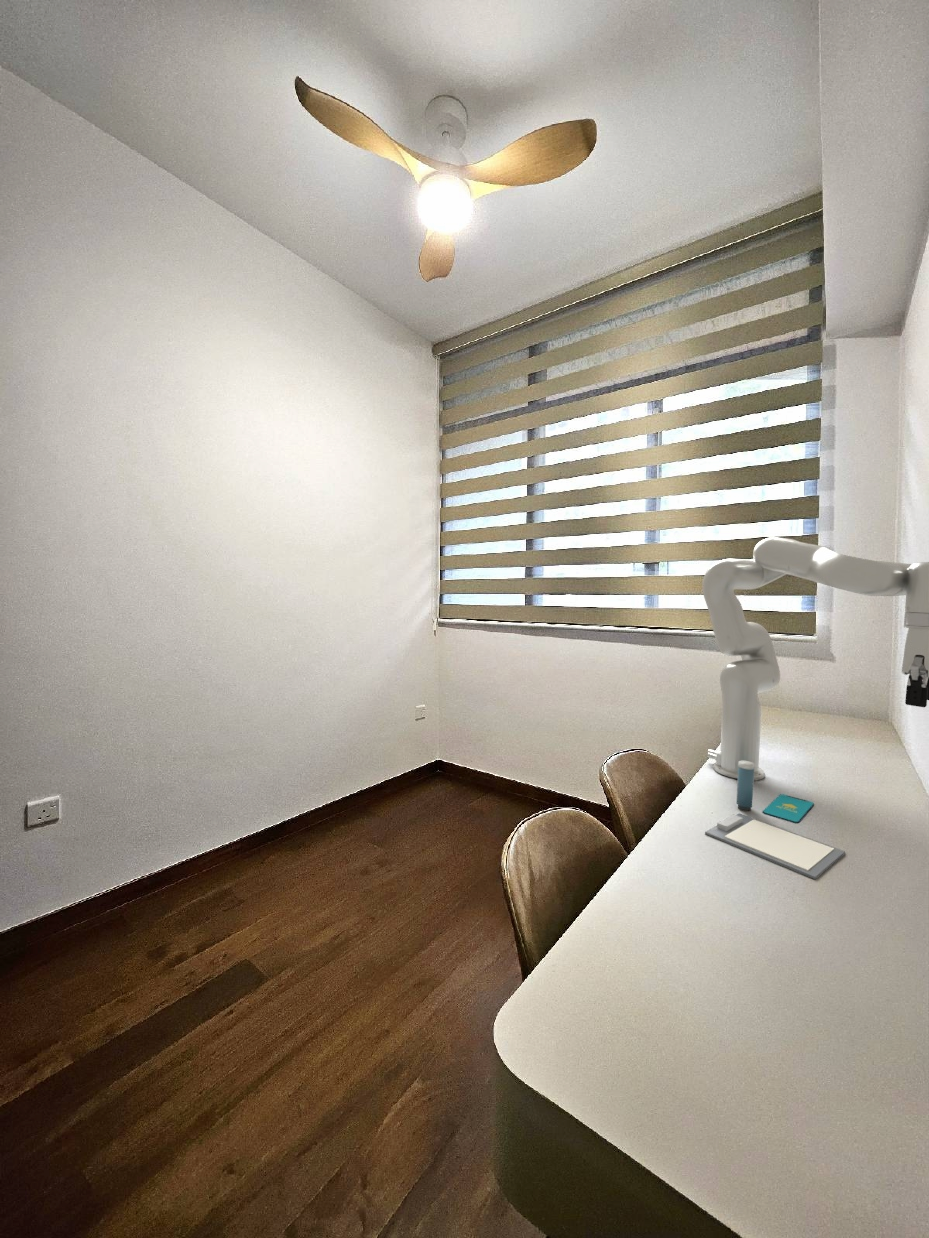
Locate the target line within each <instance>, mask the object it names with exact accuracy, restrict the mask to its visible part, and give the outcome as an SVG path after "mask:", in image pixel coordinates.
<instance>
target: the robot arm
mask: <svg viewBox="0 0 929 1238" xmlns="http://www.w3.org/2000/svg"><path fill="white" fill-rule="evenodd" d="M753 548H754V549H753V553H752V557H753V558H751V559H744V558H743V559H741V558H726V559H722V560H721V559H720V560H719V561H716V562H715V563H713V564H712V565H710V567H709V568H708V569H707V570H706V572H705V573H704V576H703V579H702V584H701V585H702V594H703V598H704V601H705V604H706V607H707V609H708V613H709V617H710V622H711V625H712V626H711V627H712V630H713V634H714V638H715V642H716V645H717V647H718V650H719V651H720V652H721V653H722V654H723V655H725V656H728V657H741V660H735V661H732V662H730V663H728V664H726V665H725V666H723V668H722V670H721V671H720V675H719V683H720V691H721V699H722V701H721V702H722V703H721V729H720V732H721V733H720V751H716V750H713V749H711V748H710V749H708V750H707V752H706V754H707V758H709V759H712V760H715V762H714V763H713V770H714V771H716V773H718V774H721V775H723V776H725V777H728V778H731V779H736V780H738V763H739V761H749V762H752V763H754V780H753V781H758V780H760V781H761V780H763V779H764V778H765V776H766V775H765V774H766V772H765V771H764V769H762V768H760V767H759V764H760V763H759V762H760V741H761V722H762V707H761V703H760V699H759V696H758V694H761V693H767V692H770V691H772V690H774V689H775V688H776V687H777V686H779V683H780V680H781V672H780V667H779V664H778V659H777V656H776V655H777V654H776V652H775V648H774V645H773V642H772V638H771V635H770V634H769V631H768V630H767V629H766V628H765V627H764V626H763V625H762V624H760V623H757V622H753V621H747V620H746V617H745V615H744V609H743V606H742V604H741V602H740V600H739V598H738V597H737V596H736V594H735V590H755V589H759V588H761V587H763V586H766V585H768V584H770V583H772V582H774V581H776V580H779V578H782V577H784V576H786V575H790V576H792V577H793V576H794V577H797V578H801V579H803V580H806V581H807V580H808V581H811V582H814V583H816V584H817V583H818V584H822V585H824V586H828V587H831V588H835V589H839V590H841V591H842V590H843V591H847V592H850V593H854V594H858V595H863V596H868V597H899V596H905V605H904V619H903V628H905V629H906V628H907V634H906V637H905V638H906V639H905V644H904V651H903V657H902V658H903V659H902V666H901V673H902V674H903V675H905V676H907V675H908V677H907V678H908V679H907V684H906V690H905V702H904V703H905V705H907V706H912V707H919V708H926V707H927V704H928V701H929V561H922V562H921V561H919V562H914V563H904V562H903V563H902V562H895V561H885V560H884V561H883V560H882V561H881V560H873V559H866V558H861V557H856V556H851V555H847V554H842V553H838V552H836V551H833V550H832V549H831V548H830V547H827V546H823V545H818V544H813V543H807V542H801V541H799V540H797V539H793V538H786V537H785V538H784V537H777V536H776V537H773V536H772V537H767V538H765V539H762V540H760V541H759V542H758V543H757V544H756V545H755V547H753Z"/></svg>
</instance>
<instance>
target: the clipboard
mask: <svg viewBox="0 0 929 1238" xmlns="http://www.w3.org/2000/svg"><path fill="white" fill-rule="evenodd" d="M704 834H705V835H707V836H709V837H712V838H714V839H716V840H717V841H718V840H719V841H721V842H723V843H726V844H728V845H730V846H733V847H734V848H735V847H736V848H738V849H740V850H742V851H745V852H747V853H749V854H752V855H755V856H758V857H759V858H762V859H764V860H767V861H769V862H771V863H774V864H775V865H776V864H777V865H779V866H782V867H784V868H786V869H788V870H790V871H794V872H796V873H798V874H799V875H800V874H801V875H803V876H805V877H808V878H810V879H813V880H816V879H818V878H819V877H820V876H821V875H822V874H823V873H825V872H826V871H827V870H828V869H829V868H831V867H832V866H833V865H834V864H835V863H836V862H837V861H839V860H840V859H841V858H842V857H843V856H844V855H845V854H846V851H845V850H844V849H840V848H837V847H834V846H832V845H829V844H826V843H823V842H820V841H818V840H815V839H813V838H809V837H808V836H804V835H801V834H798V833H796V832H794V831H791V830H787V829H784V828H782V827H779V826H776V825H774V824H771V823H767V822H765V821H762V820H759V819H757V818H754V817H751V816H749V815H745V814H743V813H740V812H739V813H737V814H731V815H730V816H727V817H725V818H724V819H721V820H719V822H717V825H715V826H712V827H711V828H709V829H708V830H706V831H705V832H704Z"/></svg>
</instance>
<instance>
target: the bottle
mask: <svg viewBox="0 0 929 1238" xmlns="http://www.w3.org/2000/svg"><path fill="white" fill-rule="evenodd" d="M754 781H755V780H754V763H752V762H749V761H739V763H738V779H737V785H736V786H737V787H736V788H737V789H736V805H737V809H739V810H740V811H742V812H751V808H752V807H753V797H754V796H753V793H754Z"/></svg>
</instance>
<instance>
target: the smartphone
mask: <svg viewBox="0 0 929 1238" xmlns="http://www.w3.org/2000/svg"><path fill="white" fill-rule="evenodd" d="M814 806H815V803H814V802H813V801H811V800H810V801H809V800H805V799H802V798H799V797H794V796H791V795H788V794H784V793H783V794H781V793H780V794H779V795H778V796H777V797H776V798H775V799H774V800H773V801H772V802H770V803H769V804H768V806H766V807H765V808H764V809H763V810H762V814H764V815H767V816H770V817H773V818H776V819H781V820H784V821H787V822H790V823H794V824H799V823H800V822H801V821H802V820H803V818H805V816H806V815H807V814H808V812H809V811H811V810H812V808H813V807H814Z"/></svg>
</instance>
